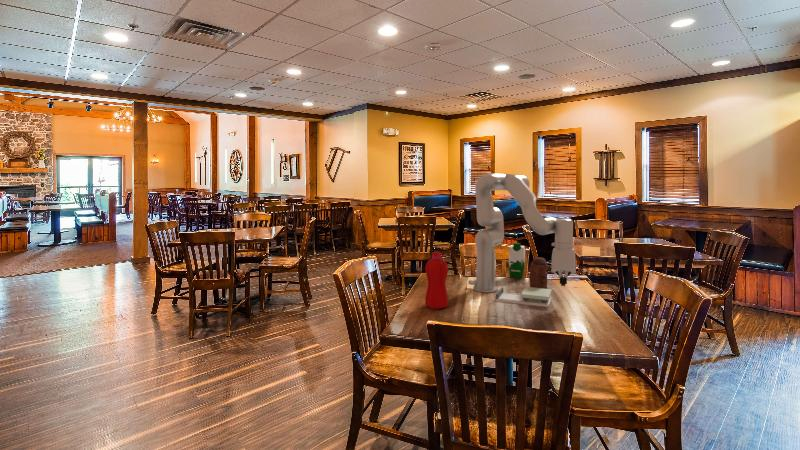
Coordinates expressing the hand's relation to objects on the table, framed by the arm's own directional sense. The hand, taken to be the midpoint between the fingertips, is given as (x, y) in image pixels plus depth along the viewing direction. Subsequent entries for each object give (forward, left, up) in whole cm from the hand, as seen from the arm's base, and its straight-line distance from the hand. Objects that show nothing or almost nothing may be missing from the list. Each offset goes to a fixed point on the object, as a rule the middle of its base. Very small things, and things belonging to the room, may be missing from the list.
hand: (563, 285), depth 204 cm
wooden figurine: (-13, +17, -9) cm, 23 cm away
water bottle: (-52, -26, -9) cm, 58 cm away
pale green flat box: (-12, 0, -8) cm, 14 cm away
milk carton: (-29, +47, -9) cm, 56 cm away
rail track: (-18, 0, -9) cm, 20 cm away
